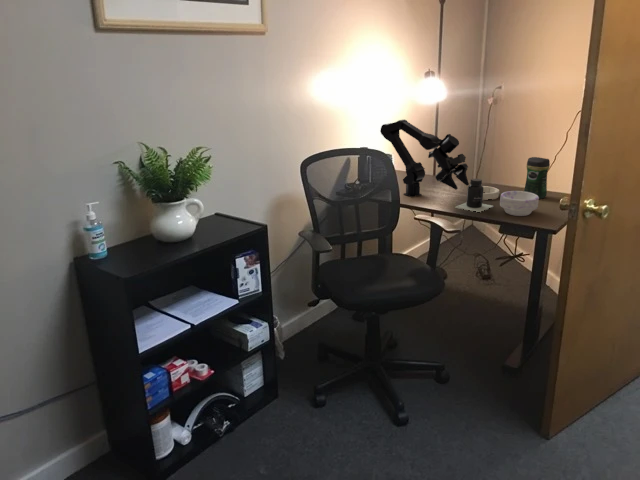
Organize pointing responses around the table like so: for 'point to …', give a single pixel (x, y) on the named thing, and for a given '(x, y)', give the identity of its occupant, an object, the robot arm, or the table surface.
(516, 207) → the paper bowls
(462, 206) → the mat
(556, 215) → the table surface
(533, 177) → the coffee jar
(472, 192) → the supplement bottle
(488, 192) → the ring holder
